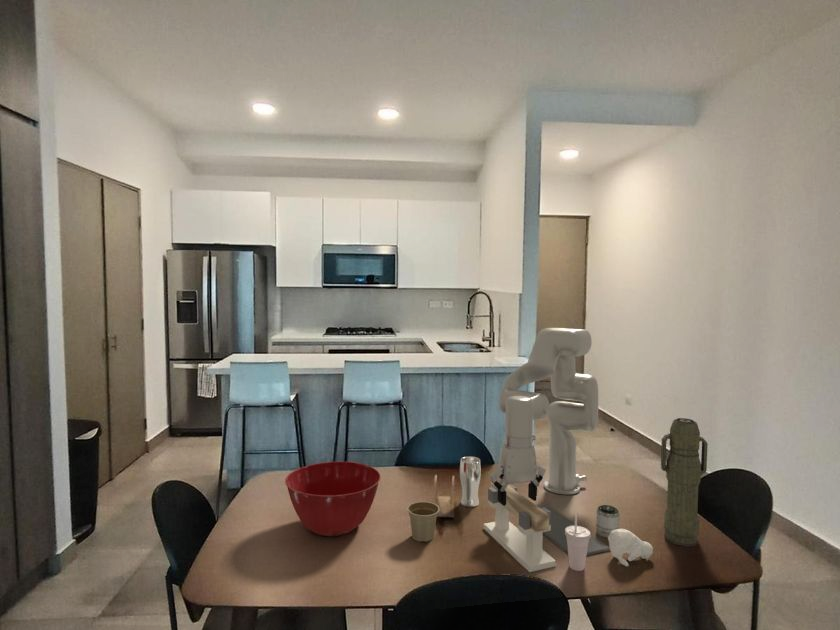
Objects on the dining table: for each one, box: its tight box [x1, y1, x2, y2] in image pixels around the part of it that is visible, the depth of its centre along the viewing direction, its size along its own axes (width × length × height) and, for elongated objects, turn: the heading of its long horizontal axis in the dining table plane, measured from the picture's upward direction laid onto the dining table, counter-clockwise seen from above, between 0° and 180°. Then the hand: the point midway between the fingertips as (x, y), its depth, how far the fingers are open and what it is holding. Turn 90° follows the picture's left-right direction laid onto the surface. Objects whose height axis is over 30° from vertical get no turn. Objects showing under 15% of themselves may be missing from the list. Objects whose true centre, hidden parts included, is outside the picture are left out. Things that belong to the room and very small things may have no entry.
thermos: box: [660, 417, 708, 547], centre depth 148 cm, size 9×12×35 cm
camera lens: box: [595, 504, 620, 539], centre depth 152 cm, size 6×6×8 cm
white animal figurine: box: [607, 528, 654, 567], centre depth 137 cm, size 6×8×12 cm
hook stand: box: [483, 484, 557, 573], centre depth 144 cm, size 8×25×14 cm, turn 21°
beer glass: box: [459, 455, 482, 508], centre depth 172 cm, size 7×7×15 cm
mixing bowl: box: [284, 461, 382, 537], centre depth 156 cm, size 28×28×15 cm
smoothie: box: [565, 514, 591, 572], centre depth 133 cm, size 6×6×14 cm
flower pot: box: [406, 501, 440, 543], centre depth 149 cm, size 9×9×9 cm
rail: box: [490, 482, 549, 532], centre depth 144 cm, size 4×24×4 cm, turn 21°
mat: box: [537, 503, 610, 557], centre depth 154 cm, size 12×30×1 cm, turn 21°
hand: (517, 501), depth 143 cm, fingers open, 9 cm apart
